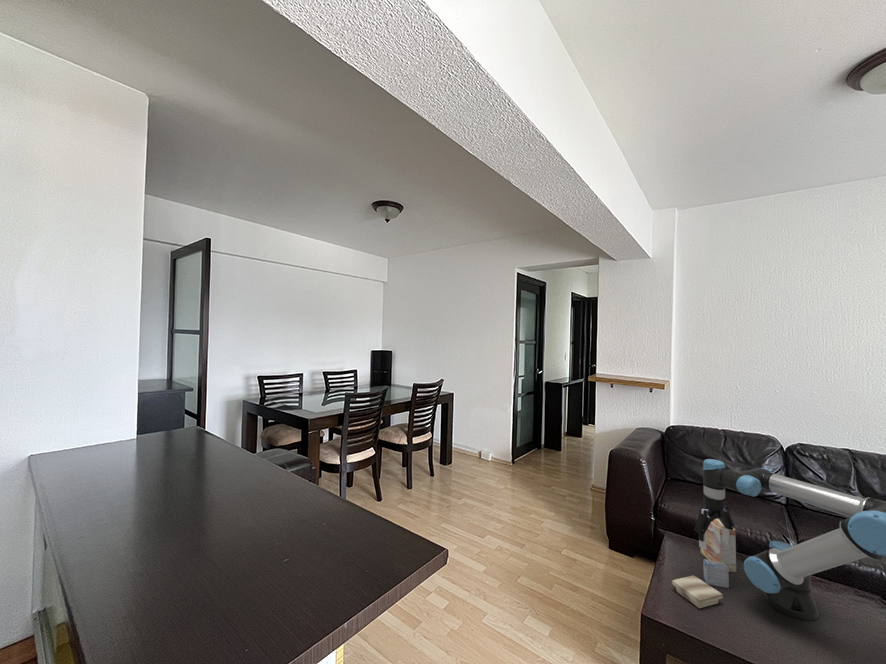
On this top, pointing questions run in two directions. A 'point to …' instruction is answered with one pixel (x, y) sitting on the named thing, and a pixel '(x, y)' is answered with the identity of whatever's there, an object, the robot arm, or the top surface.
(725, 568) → the medicine box
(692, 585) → the stand
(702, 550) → the coffeecake box
